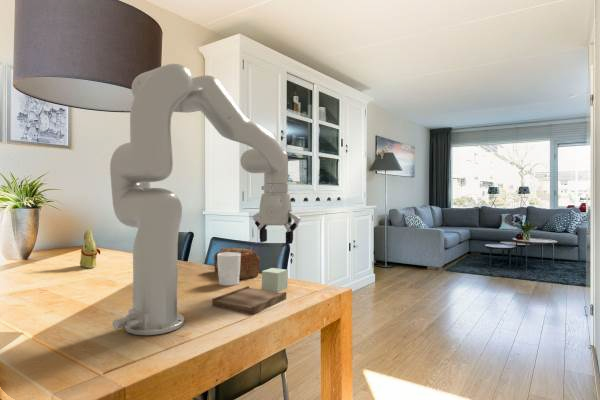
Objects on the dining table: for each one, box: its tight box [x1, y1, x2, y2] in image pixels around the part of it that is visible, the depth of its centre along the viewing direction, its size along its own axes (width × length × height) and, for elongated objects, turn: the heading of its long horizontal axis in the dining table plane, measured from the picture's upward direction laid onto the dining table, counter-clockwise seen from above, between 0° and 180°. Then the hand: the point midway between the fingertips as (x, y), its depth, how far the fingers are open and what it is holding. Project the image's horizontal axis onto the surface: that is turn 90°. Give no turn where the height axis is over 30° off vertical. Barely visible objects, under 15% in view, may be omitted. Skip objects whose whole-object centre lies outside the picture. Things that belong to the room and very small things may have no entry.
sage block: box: [261, 267, 289, 293], centre depth 119 cm, size 6×6×6 cm
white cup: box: [217, 252, 241, 287], centre depth 126 cm, size 8×8×10 cm
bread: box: [213, 247, 261, 280], centre depth 140 cm, size 19×11×10 cm, turn 36°
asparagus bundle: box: [79, 229, 101, 270], centre depth 150 cm, size 7×11×15 cm, turn 45°
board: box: [211, 285, 287, 315], centre depth 104 cm, size 16×14×2 cm
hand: (276, 242), depth 120 cm, fingers open, 9 cm apart
